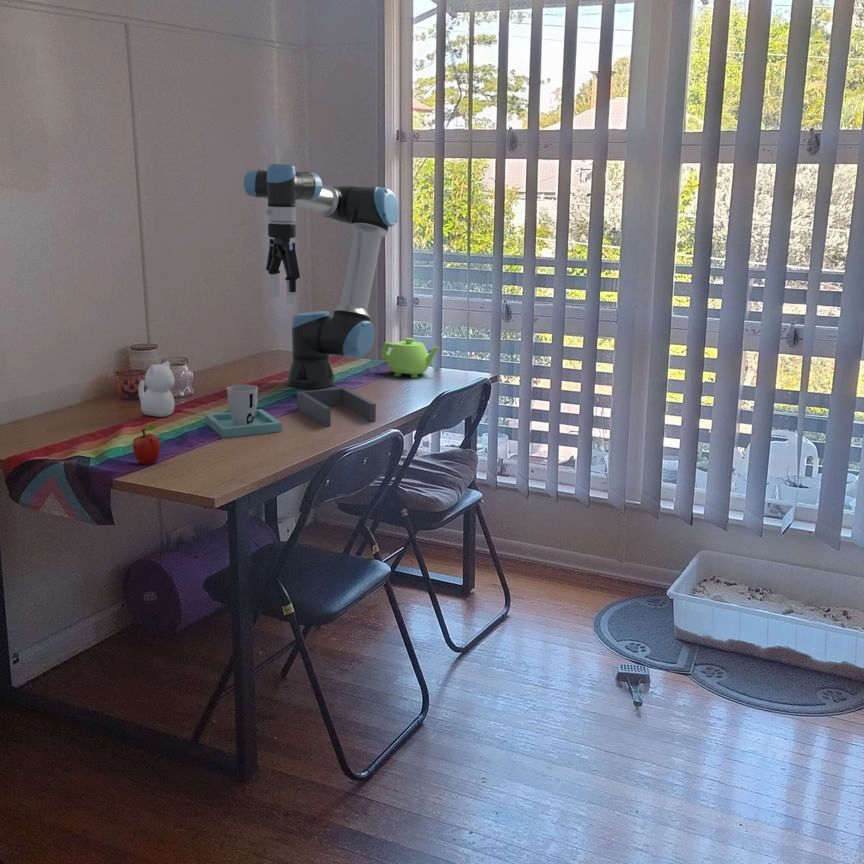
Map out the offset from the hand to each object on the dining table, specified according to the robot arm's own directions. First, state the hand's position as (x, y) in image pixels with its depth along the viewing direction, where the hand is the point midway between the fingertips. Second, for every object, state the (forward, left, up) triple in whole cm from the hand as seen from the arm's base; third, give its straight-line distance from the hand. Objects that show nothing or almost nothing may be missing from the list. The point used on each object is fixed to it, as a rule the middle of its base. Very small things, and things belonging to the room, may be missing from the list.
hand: (282, 300), depth 268 cm
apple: (+34, -46, -32) cm, 65 cm away
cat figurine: (-10, -34, -32) cm, 48 cm away
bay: (+10, +12, -32) cm, 35 cm away
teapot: (-31, +56, -32) cm, 72 cm away
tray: (+12, -16, -32) cm, 37 cm away
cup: (+12, -16, -31) cm, 37 cm away
